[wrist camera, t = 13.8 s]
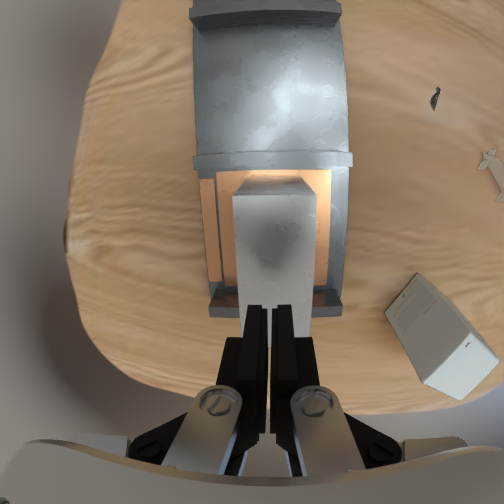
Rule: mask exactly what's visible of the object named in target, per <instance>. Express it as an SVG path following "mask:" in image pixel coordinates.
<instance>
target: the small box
mask: <svg viewBox="0 0 504 504" xmlns="http://www.w3.org/2000/svg"><path fill="white" fill-rule="evenodd" d="M385 315H386V317H387V319H388V320H389V322H390V324H391V326H392V327H393V329H394V331H395V333H396V335H397V337H398V338H399V340H400V342H401V344H402V346H403V348H404V349H405V351H406V353H407V355H408V357H409V359H410V361H411V363H412V365H413V367H414V369H415V371H416V373H417V375H418V377H419V379H420V381H421V383H423V384H425V385H427V386H429V387H431V388H433V389H435V390H437V391H440V392H442V393H444V394H446V395H448V396H450V397H452V398H454V399H457V400H459V401H460V400H461V399H463V398H464V397H465V396H466V395H467V394H468V393H469V392H470V391H471V390H473V389H474V388H475V387H476V386H477V385H478V384H479V383H480V382H481V381H482V380H483V379H484V378H485V377H486V376H487V375H488V374H489V373H490V372H491V370H492V369H493V368H494V367H495V366H496V365H497V364H498V363H499V361H500V359H499V358H498V356H497V355H496V354H495V353H494V351H493V350H492V349H491V347H490V346H489V345H488V344H487V342H486V341H485V340H484V339H483V337H482V336H481V335H480V334H479V333H478V331H477V330H476V329H475V328H474V327H473V326H472V324H471V323H470V322H469V321H468V320H467V319H466V317H465V316H464V315H463V314H462V313H461V312H460V311H459V309H458V308H457V307H456V306H455V305H454V304H453V303H452V302H451V301H449V300H448V299H447V298H446V297H445V296H444V295H443V294H442V293H441V292H440V291H438V290H437V289H436V288H435V287H434V286H433V285H432V284H431V283H429V282H428V281H427V280H426V279H425V278H424V277H423V276H422V275H420V274H419V273H417V274H416V276H415V277H414V278H413V279H412V281H411V282H410V283H409V284H408V285H407V287H406V288H405V289H404V290H403V292H402V293H401V294H400V295H399V296H398V298H397V299H396V300H395V301H394V302H393V303H392V305H391V306H390V307H389V308H388V309H387V310H386V311H385Z"/></svg>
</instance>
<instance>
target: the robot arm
mask: <svg viewBox="0 0 504 504" xmlns="http://www.w3.org/2000/svg"><path fill="white" fill-rule="evenodd" d="M267 384H268V311H267V308H262V305H248V306H247V312H246V319H245V325H244V331H243V337H227V339H226V342H225V347H224V351H223V355H222V360H221V364H220V368H219V373H218V377H217V381H216V385H215V386H210V387H207V388H205V389H203V390H202V391H200V392H199V393H198V394H197V396H196V397H195V399H194V401H193V403H192V405H191V407H190V409H189V411H188V412H187V413H185V414H183V415H181V416H179V417H177V418H175V419H173V420H171V421H169V422H167V423H165V424H163V425H161V426H159V427H157V428H155V429H153V430H151V431H148V432H146V433H144V434H142V435H140V436H138V437H137V438H135V439H129V437H128V436H113V435H100V434H89V433H74V434H72V435H70V436H69V437H68V438H67V439H66V441H63V440H54V439H39V440H38V439H37V440H31V441H28V442H26V443H24V444H23V445H21V446H20V447H19V448H18V449H17V450H16V451H15V452H14V453H13V455H12V456H11V458H10V459H9V460H8V461H7V463H6V465H5V466H4V468H3V469H2V471H1V473H0V504H504V450H503V449H500V448H497V447H491V446H469V447H468V446H467V443H466V442H465V441H464V440H463V439H461V438H459V437H453V436H452V437H441V438H429V439H405V440H404V441H403V442H396V441H395V440H394V439H392V438H390V437H388V436H386V435H384V434H383V433H381V432H379V431H377V430H375V429H373V428H371V427H370V426H368V425H366V424H364V423H362V422H360V421H359V420H357V419H355V418H353V417H352V416H350V415H348V414H346V413H345V412H343V410H342V407H341V405H340V402H339V400H338V398H337V396H336V394H335V393H334V392H333V391H331V390H330V389H328V388H326V387H323V386H320V383H319V376H318V370H317V363H316V357H315V351H314V345H313V339H312V337H294V326H293V315H292V305H291V304H280V305H277V308H272V328H271V370H270V433H271V434H272V433H274V434H275V433H276V444H278V445H279V446H280V447H282V448H283V449H284V450H286V458H287V463H288V468H289V473H290V477H244V476H241V474H242V471H243V467H244V464H245V461H246V457H247V454H248V449H249V448H251V447H252V446H254V445H255V444H257V441H259V433H265V428H266V407H267Z"/></svg>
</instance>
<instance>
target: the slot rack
mask: <svg viewBox="0 0 504 504" xmlns="http://www.w3.org/2000/svg"><path fill="white" fill-rule="evenodd" d="M341 14H342V10H341V4H340V3H337V2H336V0H193V8H189V19H190V20H191V21H192V23H193V67H194V100H195V123H196V142H197V156H193V162H194V170H198V172H199V186H200V198H201V210H202V221H203V231H204V241H205V251H206V260H207V269H208V278H209V286H210V294H211V302H210V304H209V315H210V317H225V318H240V312H239V298H238V283H237V268H236V252H235V236H234V219H233V201H232V196H233V195H234V193H235V192H236V191H237V190H238V188H239V187H240V186H241V185H242V183H243V182H244V181H245V180H246V179H247V177H248V176H262V175H300V176H301V177H302V178H303V179H304V180H305V182H306V183H307V184H308V185H309V186H310V188H311V189H312V190H313V191H314V192H315V194H316V195H317V213H316V245H315V266H314V283H313V298H312V312H311V317H336V316H342V308H343V305H342V303H341V300H340V298H341V289H342V279H343V269H344V258H345V245H346V230H347V211H348V180H349V167H353V153H350V152H349V138H348V108H347V90H346V76H345V64H344V54H343V45H342V36H341V29H340V21H339V18H340V16H341Z"/></svg>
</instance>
